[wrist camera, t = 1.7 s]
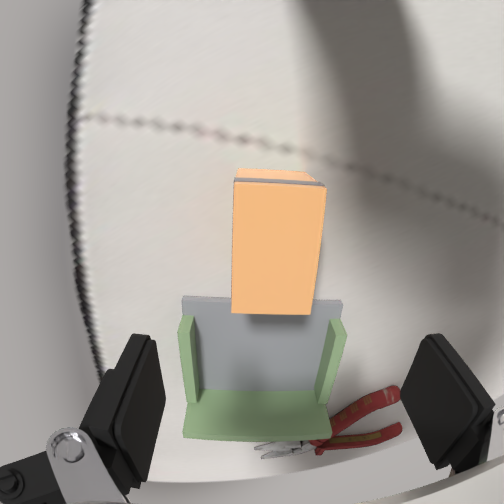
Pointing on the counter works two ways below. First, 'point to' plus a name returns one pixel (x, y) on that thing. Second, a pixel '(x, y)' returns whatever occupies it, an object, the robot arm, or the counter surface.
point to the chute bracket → (258, 371)
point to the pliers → (341, 423)
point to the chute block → (275, 241)
